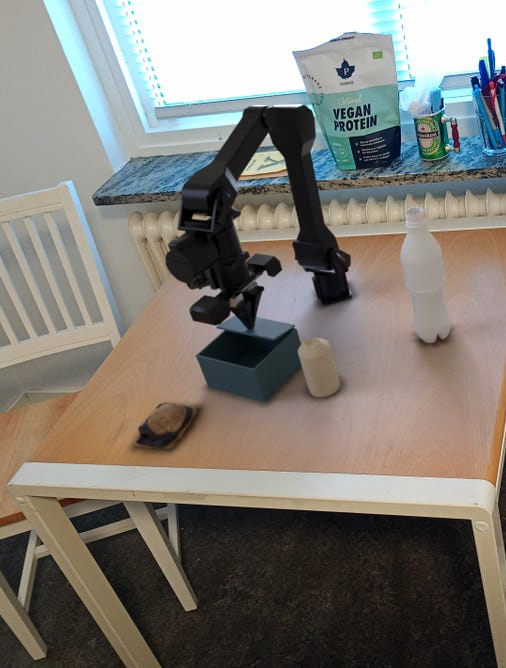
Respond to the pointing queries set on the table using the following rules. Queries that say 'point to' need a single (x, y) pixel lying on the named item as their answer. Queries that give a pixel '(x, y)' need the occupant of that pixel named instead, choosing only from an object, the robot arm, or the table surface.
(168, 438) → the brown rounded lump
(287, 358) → the carton
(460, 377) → the table surface
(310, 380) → the candle
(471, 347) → the table surface
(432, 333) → the water bottle
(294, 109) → the robot arm
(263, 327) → the flap
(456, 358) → the table surface
